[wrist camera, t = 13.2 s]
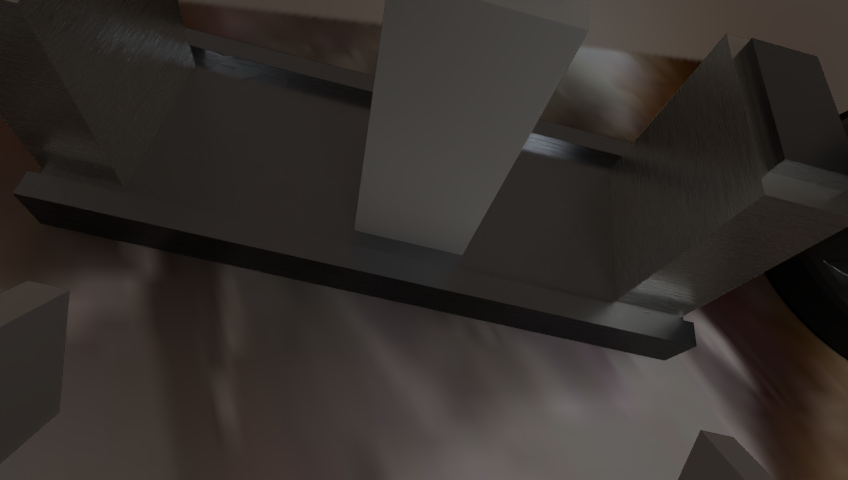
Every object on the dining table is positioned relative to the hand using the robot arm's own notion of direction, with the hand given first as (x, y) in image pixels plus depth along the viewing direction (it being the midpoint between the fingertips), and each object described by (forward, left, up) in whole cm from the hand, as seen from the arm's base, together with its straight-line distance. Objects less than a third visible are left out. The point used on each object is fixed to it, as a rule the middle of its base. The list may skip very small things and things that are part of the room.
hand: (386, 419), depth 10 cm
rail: (+1, -11, -8) cm, 14 cm away
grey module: (0, -11, -7) cm, 13 cm away
